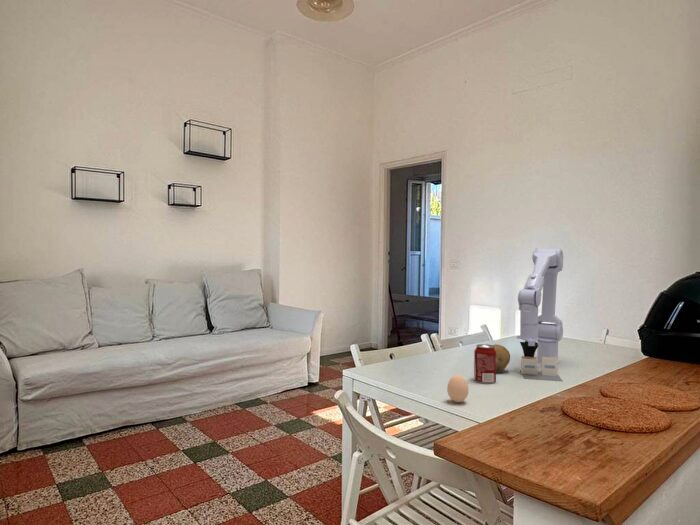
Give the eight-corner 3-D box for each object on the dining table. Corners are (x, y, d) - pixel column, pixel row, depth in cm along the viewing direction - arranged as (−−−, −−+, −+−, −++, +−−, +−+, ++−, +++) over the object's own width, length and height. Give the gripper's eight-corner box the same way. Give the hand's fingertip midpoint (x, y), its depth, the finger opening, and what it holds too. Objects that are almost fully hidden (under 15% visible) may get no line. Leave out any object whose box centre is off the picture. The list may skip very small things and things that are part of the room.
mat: (519, 371, 162) (519, 370, 162) (556, 373, 159) (556, 372, 159) (523, 380, 151) (523, 378, 151) (563, 382, 148) (563, 381, 148)
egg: (462, 406, 123) (462, 378, 123) (443, 402, 127) (443, 375, 127) (472, 401, 128) (472, 374, 128) (453, 397, 131) (453, 371, 131)
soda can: (497, 386, 144) (497, 348, 144) (474, 384, 145) (475, 347, 145) (494, 380, 150) (494, 344, 150) (473, 379, 152) (473, 343, 152)
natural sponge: (503, 377, 154) (503, 348, 154) (478, 372, 160) (478, 344, 160) (514, 372, 161) (514, 344, 161) (490, 368, 167) (490, 341, 167)
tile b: (541, 374, 157) (541, 356, 157) (556, 375, 156) (556, 357, 156) (541, 375, 156) (541, 357, 156) (557, 376, 154) (557, 358, 154)
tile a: (521, 371, 159) (521, 356, 157) (536, 372, 157) (537, 357, 155) (521, 373, 157) (522, 358, 155) (537, 374, 156) (538, 359, 154)
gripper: (514, 320, 166) (514, 358, 166) (519, 326, 152) (518, 367, 152) (535, 321, 164) (535, 359, 164) (541, 327, 150) (541, 368, 150)
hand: (528, 363), depth 158 cm, fingers closed
